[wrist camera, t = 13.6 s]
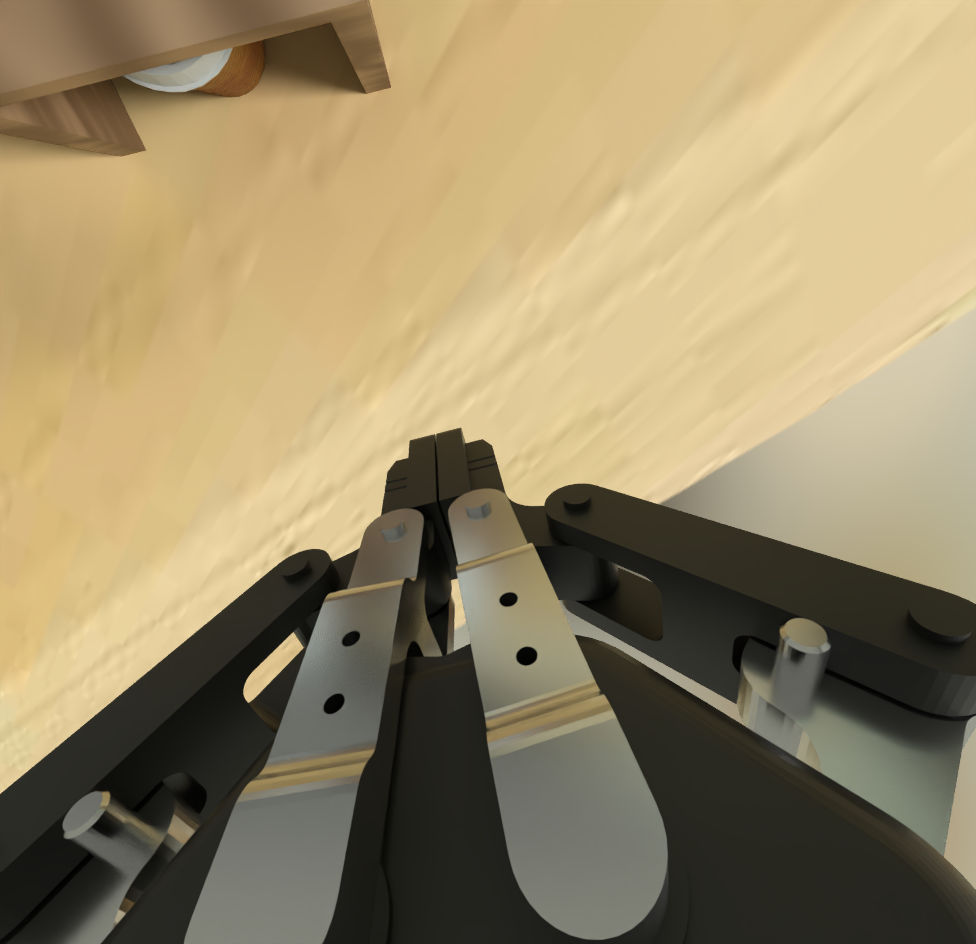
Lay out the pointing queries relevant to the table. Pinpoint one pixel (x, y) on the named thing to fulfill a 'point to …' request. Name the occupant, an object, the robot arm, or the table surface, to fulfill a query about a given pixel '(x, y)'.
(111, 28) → the wooden bench stand
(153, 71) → the disposable coffee cup
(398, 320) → the table surface
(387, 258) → the table surface
